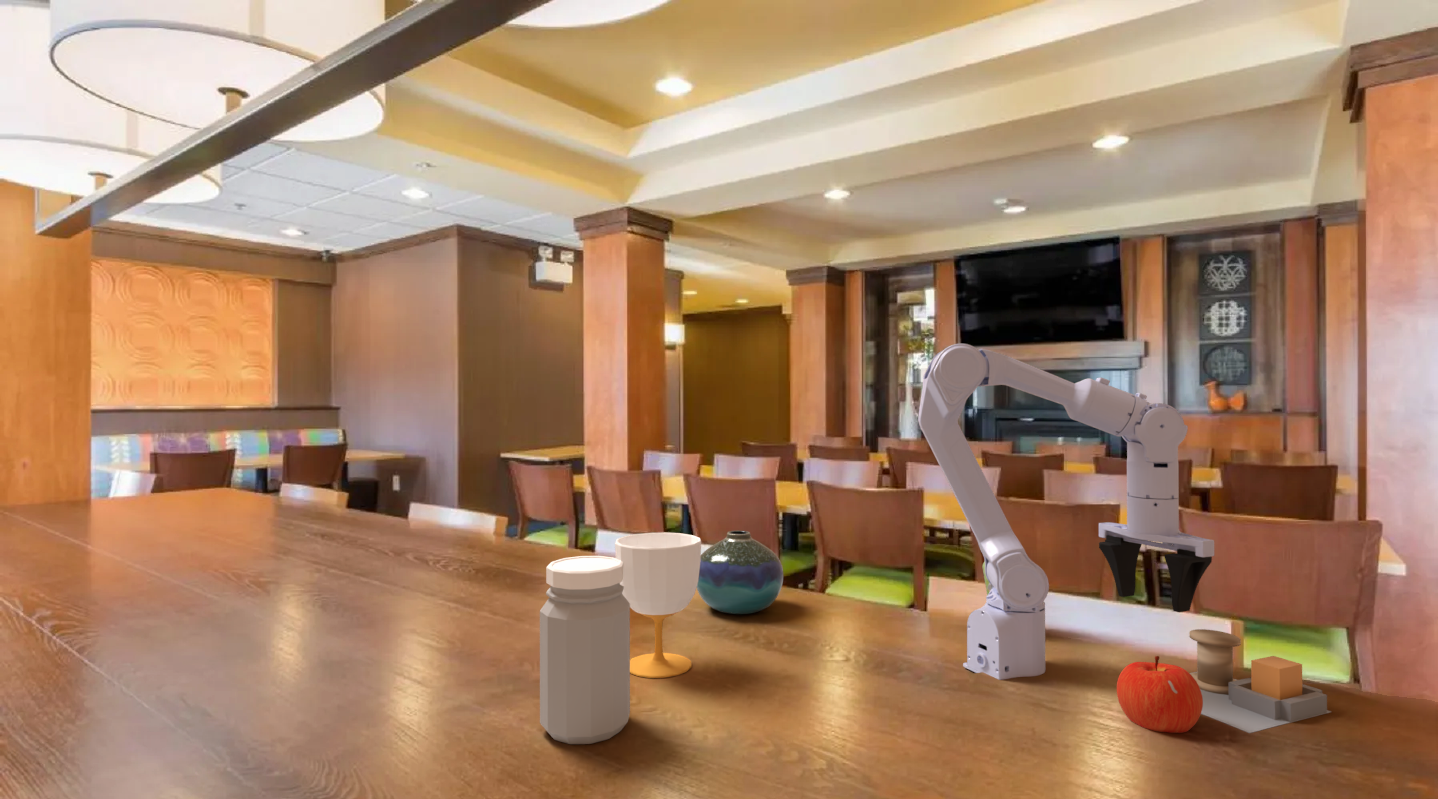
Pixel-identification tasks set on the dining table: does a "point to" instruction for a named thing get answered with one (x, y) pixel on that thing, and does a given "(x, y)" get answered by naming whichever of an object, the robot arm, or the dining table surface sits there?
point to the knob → (1214, 659)
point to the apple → (1159, 696)
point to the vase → (739, 575)
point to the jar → (584, 650)
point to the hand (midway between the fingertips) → (1152, 603)
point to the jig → (1261, 707)
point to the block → (1276, 677)
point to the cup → (659, 589)
